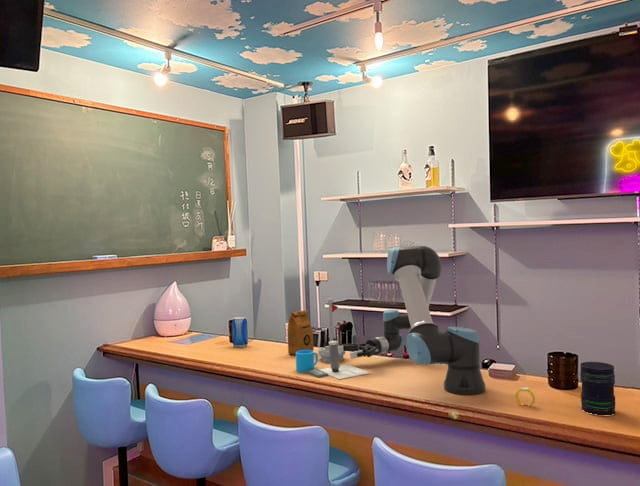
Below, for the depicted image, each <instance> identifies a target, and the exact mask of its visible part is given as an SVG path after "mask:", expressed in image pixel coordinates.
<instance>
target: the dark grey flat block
mask: <svg viewBox="0 0 640 486" xmlns="http://www.w3.org/2000/svg"><path fill="white" fill-rule="evenodd" d="M306 373H307V374H309V375H311V376H313V377H316V378H318V379H319V378H324V377H329V375H328V373H326V372H323V371H321V370H319V368H314V369H312V370H307V372H306Z"/></svg>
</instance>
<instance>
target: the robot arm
mask: <svg viewBox="0 0 640 486" xmlns="http://www.w3.org/2000/svg"><path fill="white" fill-rule="evenodd" d="M442 266H443V265H442V260H441V257H440V255H439V254H438V253H437V252H436V251H435V250H434V249H433V248H432V247H429V246H427V245H416V246H413V245H412V246H395V247H394V246H393V247H391V248H390V249H389V250H388V252H387V259H386V269H387V270H386V271H387V273H388V275H393V278H394V280H395V281H396V282H398V283H399V287H400V290H401V294H402V298H403V301H404V305H405V309H406V313H400V311H399V310H398V309H386V310H384V311H383V315H382V321H383V325H382V326H383V336H378V337H374V338H368V339H367V340H366V341H365V342H363V343H360V342H355V343H343V344H342V343H341V344H339V345H338V353H339V352H343V351H345V352H349V359H350V360H353V359H358V358H362V357H365V358H366V357H367V358H370V357H373V356H375V355H383V354H385V353H389V352H396V351H399V350H401V349H403V348H404V347H405V344H406V349H407V353H408V357H409V358H410V360H411V361H412V362H413V363H414V364H416V365H424V366H428V365H436V364H437V365H438V364H447V371H446V375H445V379H444V382H443V389H444V390H445V391H447V392H448V393H451V394H457V395H465V396H466V395H470V396H471V395H473V396H474V395H480V394H482V393H485V391H486V382H485V381H484V378H483V375H482V372H481V366H480V365H481V364H480V360H481V359H480V358H481V357H480V336H479V333H478V331H476V330H475V329H472V328H468V327H462V326H461V327H460V326H447V328H446V331H440V328H439V325H438V324H436V323H434V321H433V319H432V316H431V315H432V314H431V312H430V309H429V307H430V303H431V300H432V297H433V293H434V291H435V286H436V282H437V280H438V279H439V278H440V277H441V273H442V270H443V269H442ZM402 330H408V334H407V335H406V338H405V339H404V336H403V334H401V333H400V331H402Z"/></svg>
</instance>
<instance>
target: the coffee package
mask: <svg viewBox="0 0 640 486" xmlns="http://www.w3.org/2000/svg"><path fill="white" fill-rule="evenodd" d="M307 314H308V310H307V309H305V310H299V311H293V312H291V313H290V316H289V319H288V322H287V351H288V355H295V356H296V352H297V351H300V350H311V351H314V350H315V349H314V332H313V327H312V324H311V322H310V320H309V316H308V315H307Z"/></svg>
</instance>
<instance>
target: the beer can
mask: <svg viewBox="0 0 640 486" xmlns="http://www.w3.org/2000/svg"><path fill="white" fill-rule="evenodd" d="M231 326H232V327H231V328H232V329H231V330H232V346H233V347H234V348H237V349H238V348H245V347H246V348H247V346H248V344H249V335H248V334H249V333H248V331H249V330H248V320H247V319H246V317H245V316H236V317H233V320H232V321H231Z"/></svg>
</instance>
